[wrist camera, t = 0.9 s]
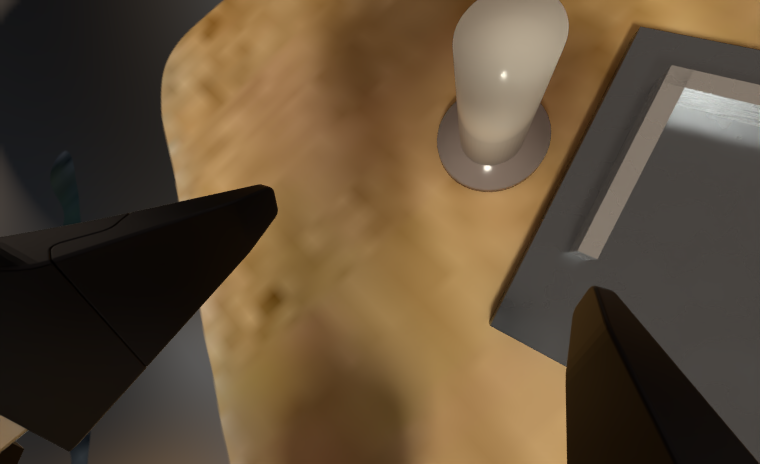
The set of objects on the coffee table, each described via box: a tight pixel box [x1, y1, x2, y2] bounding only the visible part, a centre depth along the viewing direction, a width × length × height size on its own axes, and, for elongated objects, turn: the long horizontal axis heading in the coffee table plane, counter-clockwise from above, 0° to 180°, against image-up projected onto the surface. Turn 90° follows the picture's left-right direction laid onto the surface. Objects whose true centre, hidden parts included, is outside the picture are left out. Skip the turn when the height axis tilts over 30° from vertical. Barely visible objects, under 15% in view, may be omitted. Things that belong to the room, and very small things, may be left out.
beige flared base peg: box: [437, 0, 569, 192], centre depth 16 cm, size 7×7×10 cm
